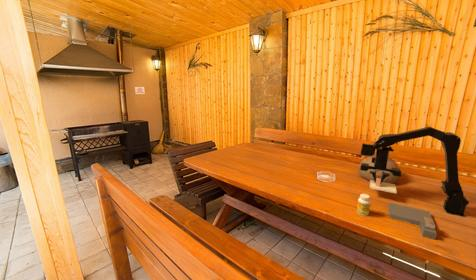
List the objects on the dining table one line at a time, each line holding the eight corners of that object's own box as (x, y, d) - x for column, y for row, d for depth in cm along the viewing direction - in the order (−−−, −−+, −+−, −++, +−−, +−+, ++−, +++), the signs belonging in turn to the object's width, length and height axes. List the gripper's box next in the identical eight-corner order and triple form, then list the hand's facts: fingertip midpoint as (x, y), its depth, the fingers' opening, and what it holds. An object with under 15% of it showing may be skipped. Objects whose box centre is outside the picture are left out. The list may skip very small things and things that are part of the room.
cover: (394, 186, 117) (396, 177, 116) (396, 193, 109) (398, 184, 108) (370, 181, 124) (371, 172, 122) (369, 188, 116) (371, 179, 114)
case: (428, 215, 100) (429, 209, 99) (438, 240, 83) (440, 234, 83) (388, 205, 108) (388, 200, 107) (390, 227, 92) (391, 221, 91)
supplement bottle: (364, 209, 105) (366, 192, 103) (371, 215, 100) (374, 198, 98) (354, 210, 105) (356, 193, 103) (360, 216, 100) (363, 198, 98)
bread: (360, 167, 159) (363, 148, 155) (398, 174, 146) (401, 154, 142) (355, 179, 139) (358, 158, 135) (398, 188, 125) (402, 166, 121)
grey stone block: (431, 223, 89) (432, 219, 89) (434, 229, 85) (435, 225, 85) (422, 220, 91) (423, 216, 90) (424, 227, 87) (425, 223, 86)
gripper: (401, 156, 115) (396, 181, 119) (362, 151, 125) (359, 174, 129) (403, 162, 106) (398, 189, 110) (361, 156, 116) (358, 181, 120)
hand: (377, 183), depth 117 cm, fingers closed on cover
